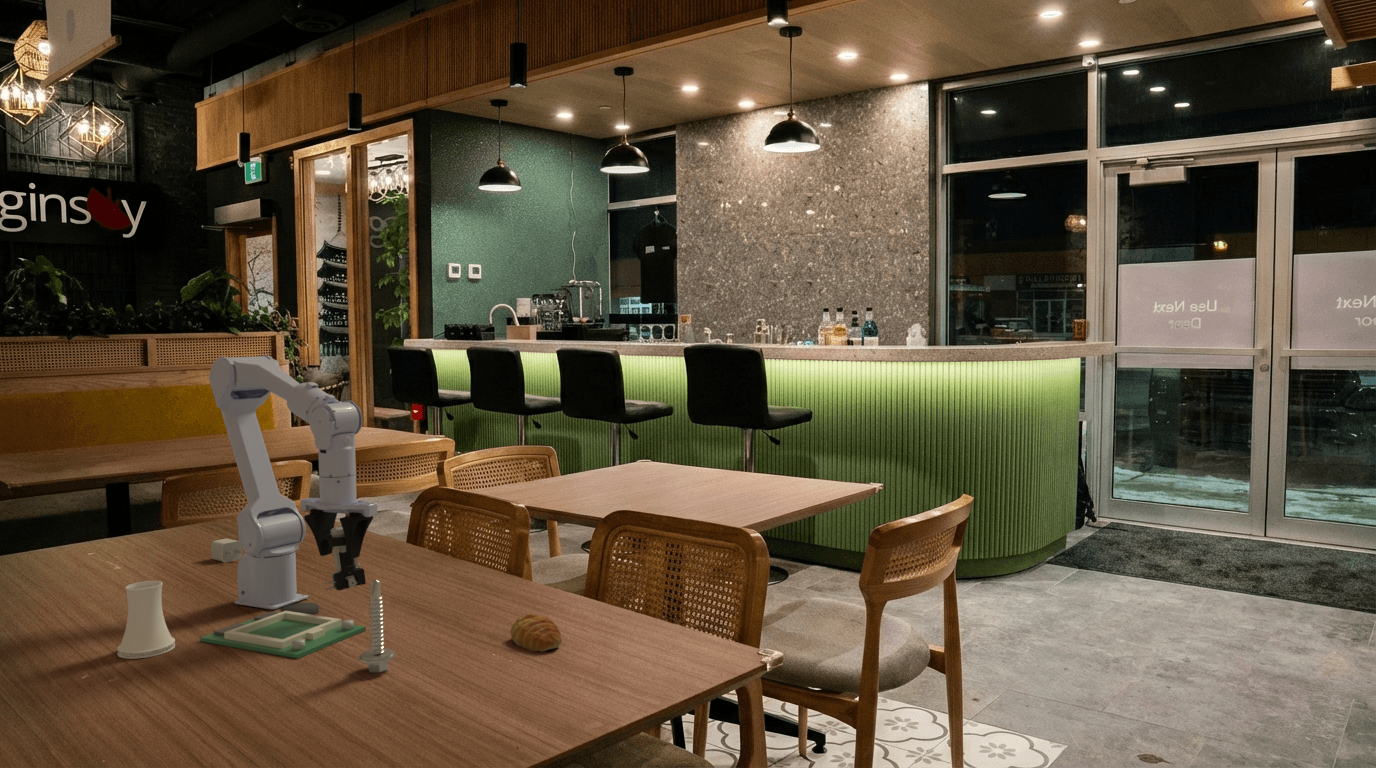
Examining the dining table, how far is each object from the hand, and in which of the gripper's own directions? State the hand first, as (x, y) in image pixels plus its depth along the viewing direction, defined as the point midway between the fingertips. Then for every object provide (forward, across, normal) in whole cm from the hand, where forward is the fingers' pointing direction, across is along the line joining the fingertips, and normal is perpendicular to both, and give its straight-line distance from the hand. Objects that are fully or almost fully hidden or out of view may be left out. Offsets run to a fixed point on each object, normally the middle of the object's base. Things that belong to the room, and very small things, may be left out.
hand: (339, 556), depth 156 cm
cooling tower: (+11, -16, -23) cm, 30 cm away
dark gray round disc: (+11, -8, 0) cm, 14 cm away
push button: (+6, 0, +1) cm, 6 cm away
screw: (+11, +22, -17) cm, 30 cm away
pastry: (+11, +37, +2) cm, 39 cm away
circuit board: (+10, -2, -11) cm, 15 cm away
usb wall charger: (+11, -50, +22) cm, 56 cm away
